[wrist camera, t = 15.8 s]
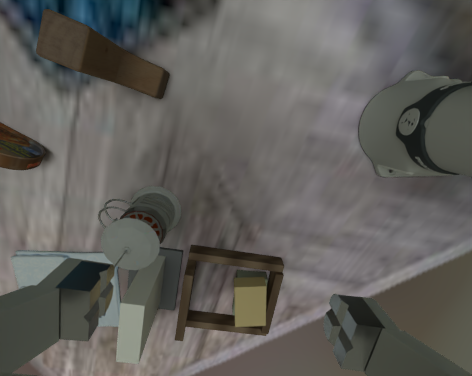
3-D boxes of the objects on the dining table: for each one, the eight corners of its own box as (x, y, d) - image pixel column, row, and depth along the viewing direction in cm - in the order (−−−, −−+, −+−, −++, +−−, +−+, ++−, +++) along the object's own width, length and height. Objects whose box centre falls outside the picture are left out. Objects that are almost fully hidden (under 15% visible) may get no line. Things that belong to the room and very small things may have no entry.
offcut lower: (265, 271, 55) (267, 279, 52) (259, 306, 57) (261, 317, 54) (237, 268, 54) (237, 277, 51) (232, 305, 57) (232, 315, 54)
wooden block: (170, 73, 43) (134, 45, 26) (162, 99, 44) (122, 89, 27) (117, 51, 42) (41, 5, 25) (110, 78, 43) (33, 53, 26)
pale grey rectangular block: (165, 256, 52) (144, 305, 38) (159, 302, 55) (138, 363, 41) (147, 253, 51) (120, 302, 38) (143, 300, 54) (115, 361, 41)
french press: (162, 243, 52) (107, 354, 28) (111, 209, 49) (2, 299, 25) (191, 206, 50) (160, 291, 26) (139, 169, 48) (52, 225, 23)
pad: (182, 250, 52) (182, 251, 52) (174, 308, 56) (174, 310, 55) (132, 243, 51) (131, 244, 51) (127, 302, 55) (126, 304, 54)
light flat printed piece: (16, 248, 51) (7, 254, 49) (120, 249, 52) (116, 255, 50) (33, 327, 56) (25, 335, 54) (127, 327, 57) (124, 335, 55)
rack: (280, 257, 54) (290, 281, 46) (263, 324, 58) (269, 356, 50) (191, 244, 52) (185, 267, 44) (180, 314, 56) (173, 346, 49)
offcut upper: (264, 276, 52) (266, 286, 49) (263, 314, 54) (265, 325, 51) (233, 277, 51) (234, 287, 49) (234, 315, 54) (235, 327, 51)
